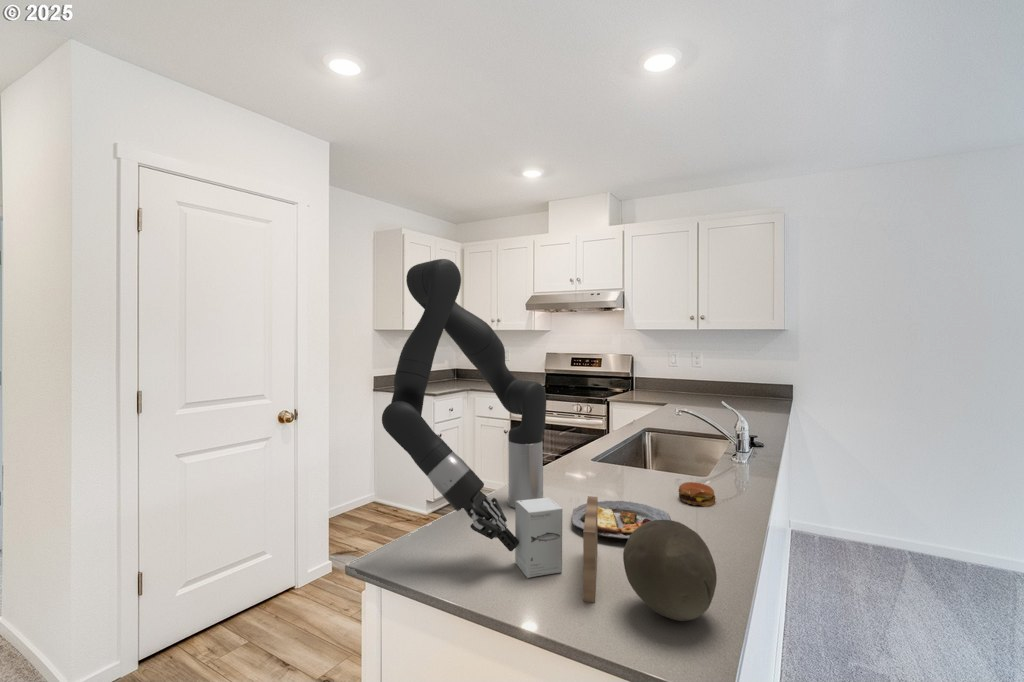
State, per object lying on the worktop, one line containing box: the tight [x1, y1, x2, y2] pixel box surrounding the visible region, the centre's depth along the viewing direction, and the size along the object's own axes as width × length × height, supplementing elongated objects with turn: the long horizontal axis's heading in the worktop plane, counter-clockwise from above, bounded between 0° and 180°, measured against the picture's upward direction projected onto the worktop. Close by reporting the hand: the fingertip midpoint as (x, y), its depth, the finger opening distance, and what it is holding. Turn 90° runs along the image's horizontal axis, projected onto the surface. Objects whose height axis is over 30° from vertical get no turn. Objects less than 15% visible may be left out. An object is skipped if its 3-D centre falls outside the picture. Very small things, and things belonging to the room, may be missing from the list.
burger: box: [678, 481, 717, 508], centre depth 136 cm, size 10×9×5 cm
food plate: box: [571, 500, 672, 540], centre depth 119 cm, size 25×23×4 cm
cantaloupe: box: [622, 519, 717, 622], centre depth 81 cm, size 14×14×15 cm
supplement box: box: [514, 497, 563, 579], centre depth 97 cm, size 7×7×13 cm
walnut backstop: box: [582, 495, 599, 603], centre depth 94 cm, size 19×2×12 cm, turn 169°
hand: (515, 547), depth 97 cm, fingers closed
